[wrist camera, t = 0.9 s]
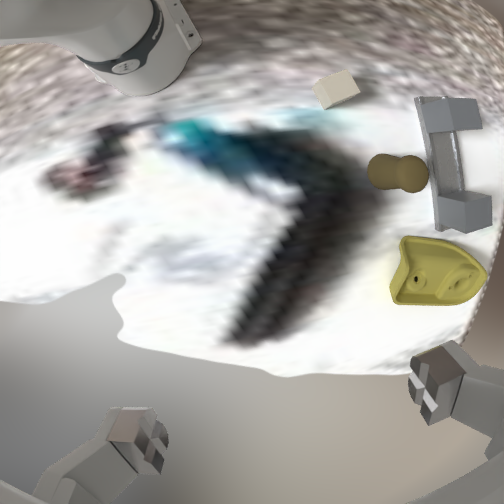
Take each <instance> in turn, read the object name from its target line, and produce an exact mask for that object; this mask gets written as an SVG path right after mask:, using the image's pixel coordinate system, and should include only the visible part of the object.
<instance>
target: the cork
mask: <svg viewBox="0 0 504 504" xmlns="http://www.w3.org/2000/svg"><path fill="white" fill-rule="evenodd" d="M367 173H368V177H369V180H370V181H371V183H372V184H373V185H374V186H375V187H376V188H378V189H382V190H389V189H400V188H401V189H402V190H404V191H406V192H409V193H416V192H420V191H421V190H423V189H424V188H425V186H426V185H427V182H428V179H429V172H428V168H427V166H426V164H425V163H424V162H423V160H422V159H420V158H418V157H417V156H413V155H408V156H404V157H402V158H399V157H395V156H391V155H387V154H378V155H376V156H374V157H373V158H372V159H371V160H370V162H369V165H368V171H367Z"/></svg>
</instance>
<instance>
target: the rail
mask: <svg viewBox="0 0 504 504" xmlns="http://www.w3.org/2000/svg"><path fill="white" fill-rule="evenodd" d="M444 98H448V97H447V96H444V97H423V96H422V97H417V98H414V101H415V105H416V108H417V112H418V117H419V121H420V125H421V130H422V134H423V139H424V144H425V150H426V155H427V161H428V167H429V174H430V181H431V189H432V198H433V207H434V219H435V230H437V231H440V232H443V231H444V230H447V229H450V227H447V226H445V225H442V224H439V215H438V203H437V196H441V195H443V194H448V193H453V192H458V191H464V182H463V173H462V166H461V159H460V152H459V146H458V141H457V135H456V131H450V132H436V133H427V132H426V127H425V123H424V118H423V114H422V110H421V106H420V105H423V104H426V103H430V102H433V101H437V100H441V99H444Z"/></svg>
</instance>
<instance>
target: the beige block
mask: <svg viewBox="0 0 504 504" xmlns="http://www.w3.org/2000/svg"><path fill="white" fill-rule="evenodd" d="M312 90H313V92H314V93H315V95H316V97H317V99H318V100H319V102H320V104H321V106H322V107H323V109H324V110H325V109H327V108H330V107H332V106H334V105H337V104H339V103H341V102H344V101H346V100H348V99H351V98H352V97H354V96H355V95H357V94H358V93H360V90H359V88H358V87H357V85H356V83H355V81H354V80H353V78H352V76H351V75H350V73H349V71H348V70H347V69H345V70H343V71H340V72H337V73H335V74H332V75H330V76H327V77H324V78H322V79H319V80H318V81H317V82H316V84H315V85H314V86H313V87H312Z"/></svg>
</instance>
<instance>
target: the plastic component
mask: <svg viewBox="0 0 504 504" xmlns="http://www.w3.org/2000/svg"><path fill="white" fill-rule="evenodd" d="M399 249H400V253H401V261H400V265H399V267H398V269H397V271H396V273H395V275H394V277H393V279H392V281H391V283H390V287H389V288H390V292H391V296H392V300H393V302H394V303H395V304H398V305H430V306H451V305H458V304H462V303H464V302H466V301H468V300H470V299H471V298H472V297H474V296H475V295H476V294H477V293H478V291H479V290H480V289H481V287H482V286H483V284H484V283H485V281H486V280H487V272H486V270H485V269H484V268H483V266H482V265H481V264H480V263H479V262H478V261H477V260H476V259H475V258H474V257H472V256H471V255H470V254H469V253H467V252H466V251H465V250H463V249H461V248H460V247H458V246H456V245H454V244H452V243H449V242H446V241H442V240H437V239H429V238H422V237H414V236H405V237H403V238H402V239H401V242H400V245H399ZM416 276H417V277H418V281H417V282H415V281H414V278H415V277H416Z"/></svg>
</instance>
